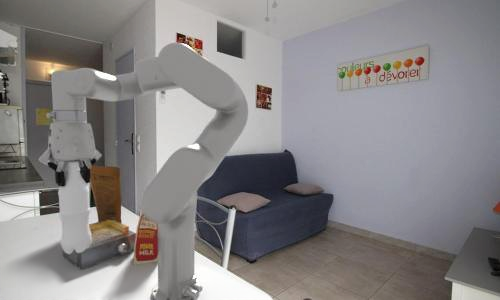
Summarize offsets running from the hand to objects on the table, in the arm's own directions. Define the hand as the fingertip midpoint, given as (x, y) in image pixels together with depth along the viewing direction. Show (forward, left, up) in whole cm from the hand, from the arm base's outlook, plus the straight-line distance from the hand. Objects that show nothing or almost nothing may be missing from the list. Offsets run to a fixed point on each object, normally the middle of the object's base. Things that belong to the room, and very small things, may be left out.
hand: (73, 183), depth 73 cm
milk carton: (-3, -22, -29) cm, 36 cm away
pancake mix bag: (+33, -25, -29) cm, 51 cm away
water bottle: (0, 0, -19) cm, 19 cm away
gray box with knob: (+12, -12, -28) cm, 33 cm away
